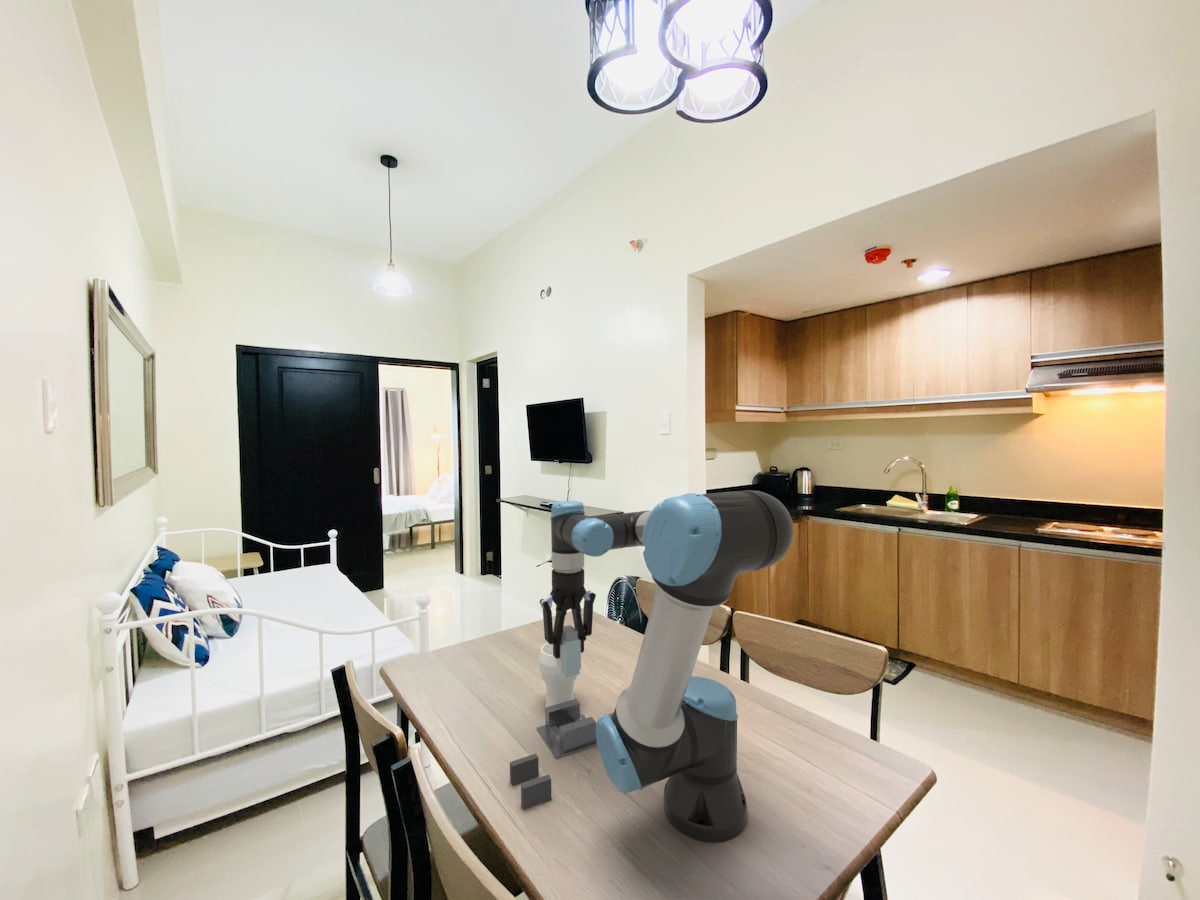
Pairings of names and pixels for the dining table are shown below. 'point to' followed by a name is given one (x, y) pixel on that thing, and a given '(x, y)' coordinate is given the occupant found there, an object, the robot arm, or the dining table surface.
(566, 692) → the cup
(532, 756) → the pair of dark bars
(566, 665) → the plug
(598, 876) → the dining table surface
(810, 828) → the dining table surface
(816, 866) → the dining table surface
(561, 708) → the port
